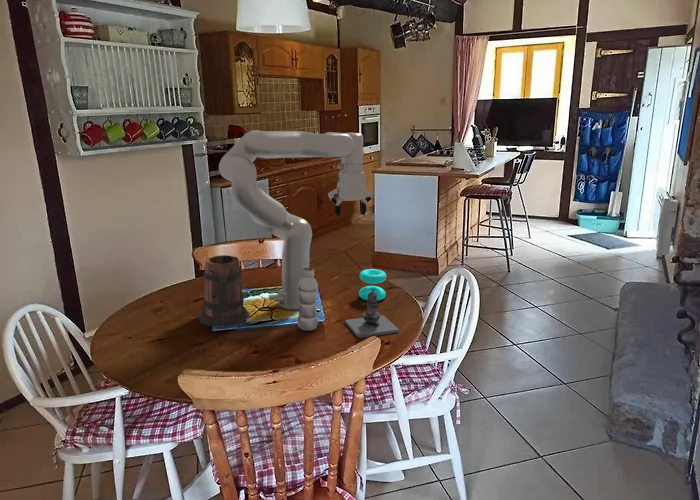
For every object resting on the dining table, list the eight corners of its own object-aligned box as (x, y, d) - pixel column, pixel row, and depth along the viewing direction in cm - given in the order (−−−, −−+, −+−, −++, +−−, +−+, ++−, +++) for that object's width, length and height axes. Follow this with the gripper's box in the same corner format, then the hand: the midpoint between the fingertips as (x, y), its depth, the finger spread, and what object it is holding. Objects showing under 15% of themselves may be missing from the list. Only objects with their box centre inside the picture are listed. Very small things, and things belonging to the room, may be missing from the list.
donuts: (361, 267, 197) (388, 269, 196) (360, 291, 200) (386, 293, 199) (357, 275, 188) (385, 277, 186) (356, 301, 191) (383, 303, 189)
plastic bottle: (302, 334, 162) (302, 274, 156) (294, 326, 167) (294, 267, 162) (321, 331, 164) (322, 271, 159) (312, 323, 170) (313, 265, 165)
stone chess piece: (378, 329, 165) (380, 293, 162) (360, 327, 166) (361, 291, 163) (381, 321, 170) (383, 287, 167) (363, 320, 172) (365, 285, 168)
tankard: (198, 308, 180) (195, 252, 174) (248, 304, 184) (246, 250, 178) (196, 337, 158) (193, 275, 152) (253, 332, 162) (251, 272, 157)
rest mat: (358, 338, 161) (358, 335, 160) (344, 322, 171) (344, 320, 171) (398, 332, 165) (399, 329, 165) (383, 317, 176) (383, 315, 176)
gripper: (332, 170, 179) (331, 218, 184) (378, 169, 185) (376, 216, 190) (325, 167, 186) (324, 214, 190) (370, 166, 192) (368, 212, 197)
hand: (350, 215), depth 190 cm, fingers open, 9 cm apart
